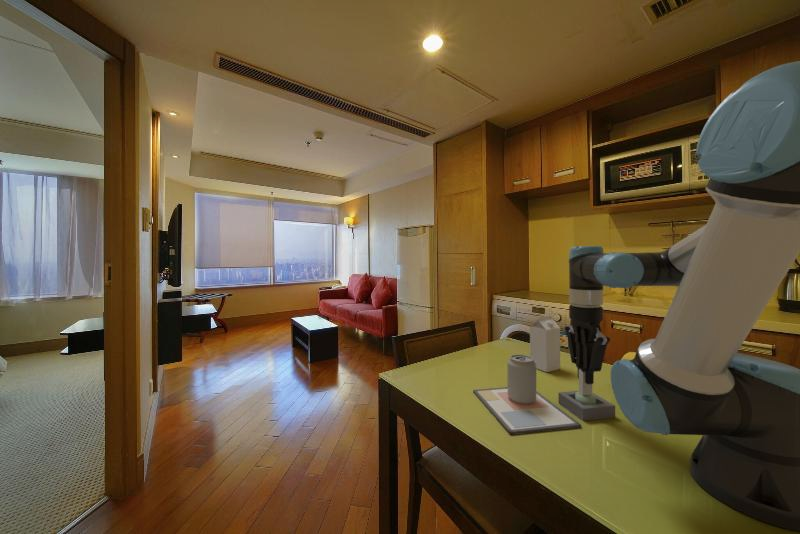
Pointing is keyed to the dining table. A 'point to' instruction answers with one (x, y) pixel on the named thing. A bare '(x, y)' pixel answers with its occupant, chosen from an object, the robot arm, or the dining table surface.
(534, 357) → the milk carton
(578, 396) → the button
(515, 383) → the can
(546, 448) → the dining table surface
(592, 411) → the button housing
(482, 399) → the picture sheet
